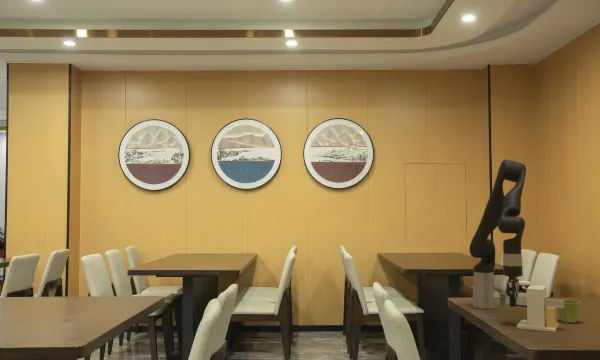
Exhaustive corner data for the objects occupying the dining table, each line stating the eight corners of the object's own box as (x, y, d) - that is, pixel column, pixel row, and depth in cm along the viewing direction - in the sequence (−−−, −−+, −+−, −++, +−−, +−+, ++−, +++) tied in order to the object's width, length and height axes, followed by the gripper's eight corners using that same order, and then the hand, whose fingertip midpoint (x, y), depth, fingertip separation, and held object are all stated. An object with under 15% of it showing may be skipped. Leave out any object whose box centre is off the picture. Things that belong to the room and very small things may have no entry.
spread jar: (518, 302, 271) (517, 279, 272) (541, 305, 264) (541, 281, 265) (512, 306, 261) (511, 282, 262) (536, 308, 255) (535, 284, 255)
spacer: (546, 327, 210) (546, 308, 211) (548, 323, 217) (548, 305, 217) (555, 327, 209) (554, 308, 209) (556, 324, 215) (556, 305, 216)
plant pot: (571, 325, 218) (571, 303, 219) (551, 321, 227) (551, 300, 227) (586, 322, 223) (585, 301, 223) (566, 318, 231) (565, 298, 231)
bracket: (516, 328, 213) (515, 287, 214) (521, 322, 224) (520, 284, 225) (555, 332, 206) (553, 290, 207) (558, 325, 217) (557, 286, 218)
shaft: (499, 306, 221) (499, 294, 221) (502, 304, 225) (501, 292, 225) (563, 311, 208) (563, 298, 209) (565, 309, 213) (564, 296, 213)
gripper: (506, 262, 229) (507, 302, 228) (499, 265, 217) (500, 307, 216) (524, 263, 226) (526, 303, 225) (519, 266, 213) (520, 309, 212)
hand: (513, 305), depth 220 cm, fingers open, 4 cm apart
